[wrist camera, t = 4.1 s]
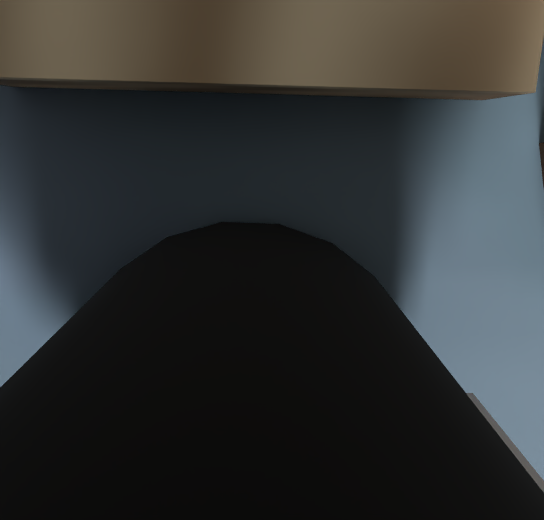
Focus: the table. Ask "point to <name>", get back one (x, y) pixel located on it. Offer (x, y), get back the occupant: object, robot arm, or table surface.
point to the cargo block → (542, 158)
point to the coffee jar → (248, 398)
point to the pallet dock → (276, 46)
